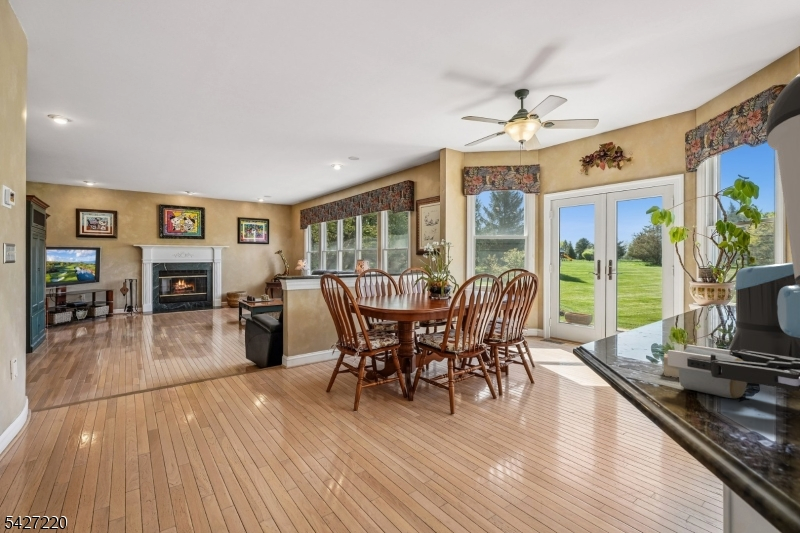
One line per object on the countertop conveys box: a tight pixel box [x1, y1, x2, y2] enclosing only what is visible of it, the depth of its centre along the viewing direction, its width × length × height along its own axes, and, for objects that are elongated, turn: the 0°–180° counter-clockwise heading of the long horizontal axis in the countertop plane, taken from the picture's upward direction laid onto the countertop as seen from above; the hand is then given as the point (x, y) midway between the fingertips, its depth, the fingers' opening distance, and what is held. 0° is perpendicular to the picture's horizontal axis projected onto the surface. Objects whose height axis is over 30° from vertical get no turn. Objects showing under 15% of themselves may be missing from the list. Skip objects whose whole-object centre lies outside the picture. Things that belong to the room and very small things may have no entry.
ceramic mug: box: [678, 346, 748, 399], centre depth 67 cm, size 11×8×8 cm
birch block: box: [663, 353, 679, 378], centre depth 78 cm, size 4×4×4 cm
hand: (678, 354), depth 71 cm, fingers closed on ceramic mug, 7 cm apart
